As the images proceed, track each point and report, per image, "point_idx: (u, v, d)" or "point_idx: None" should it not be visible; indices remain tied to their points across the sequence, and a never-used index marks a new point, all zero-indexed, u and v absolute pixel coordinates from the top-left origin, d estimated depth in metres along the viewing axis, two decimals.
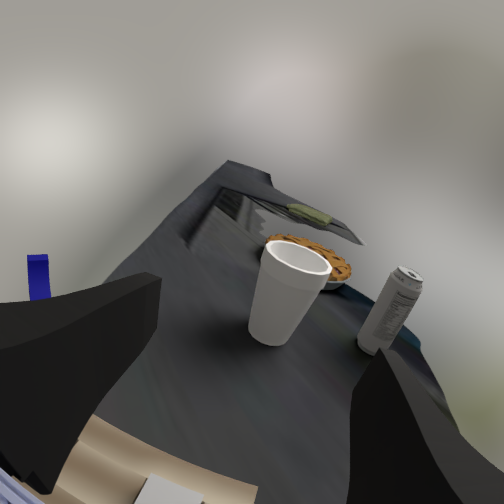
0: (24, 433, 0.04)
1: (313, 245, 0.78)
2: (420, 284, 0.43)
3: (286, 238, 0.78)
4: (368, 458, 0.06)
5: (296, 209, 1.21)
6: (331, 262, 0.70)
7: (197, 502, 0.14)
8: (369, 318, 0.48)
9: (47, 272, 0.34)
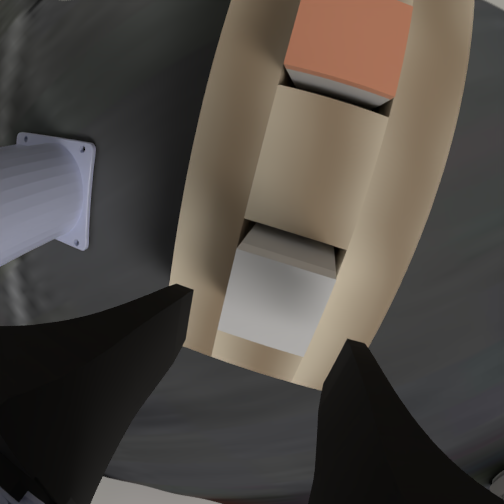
0: (65, 463, 0.04)
1: None
2: None
3: None
4: (330, 451, 0.07)
5: None
6: None
7: (286, 348, 0.12)
8: None
9: None
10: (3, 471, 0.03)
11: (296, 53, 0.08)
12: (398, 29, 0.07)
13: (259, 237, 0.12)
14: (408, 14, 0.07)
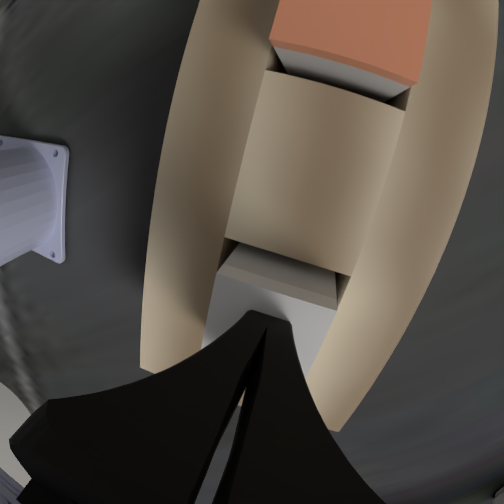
0: None
1: None
2: None
3: None
4: (239, 429, 0.07)
5: None
6: None
7: None
8: None
9: None
10: None
11: (286, 25, 0.06)
12: None
13: (246, 256, 0.11)
14: None
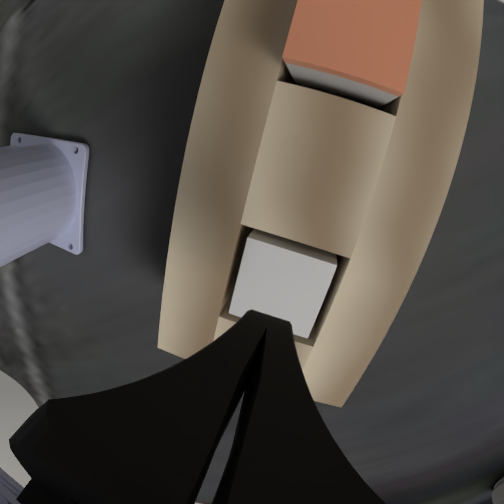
0: None
1: None
2: None
3: None
4: (239, 428, 0.07)
5: None
6: None
7: (292, 329, 0.13)
8: None
9: None
10: None
11: (296, 45, 0.07)
12: (406, 21, 0.06)
13: None
14: (417, 5, 0.06)
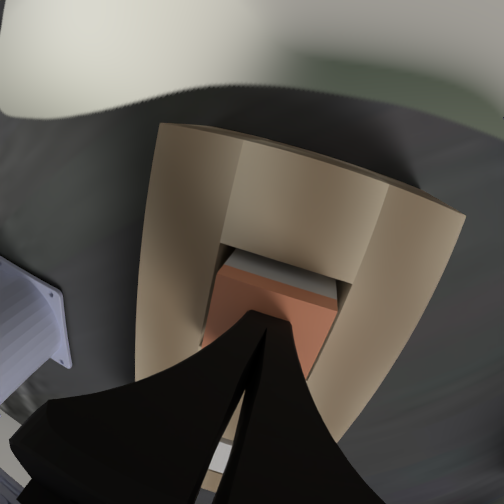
0: None
1: None
2: None
3: None
4: (239, 429, 0.07)
5: None
6: None
7: None
8: None
9: None
10: None
11: None
12: (312, 340, 0.09)
13: None
14: (329, 321, 0.09)
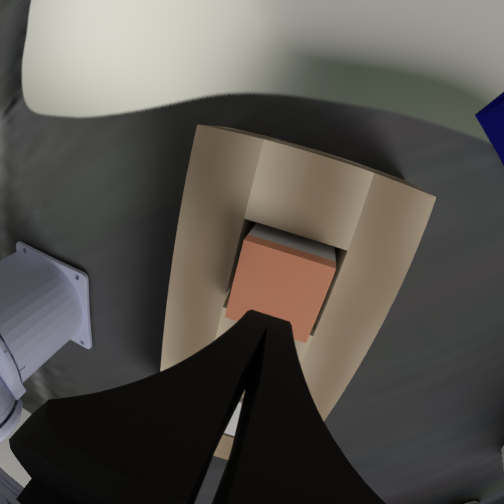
0: None
1: None
2: None
3: None
4: (239, 429, 0.07)
5: None
6: None
7: None
8: None
9: None
10: None
11: (233, 311, 0.13)
12: (317, 293, 0.12)
13: None
14: (329, 277, 0.12)
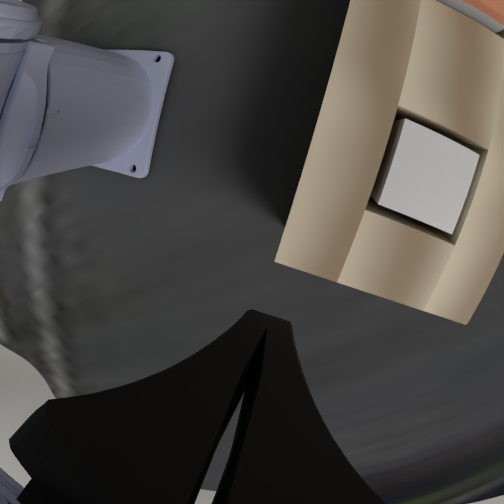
0: None
1: None
2: None
3: None
4: (239, 429, 0.07)
5: None
6: None
7: (439, 223, 0.11)
8: None
9: None
10: None
11: None
12: None
13: None
14: None
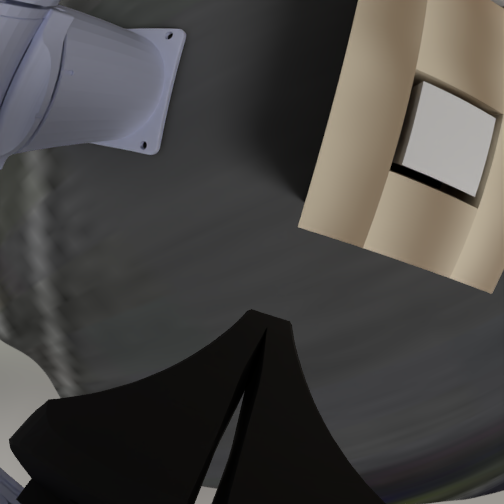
0: None
1: None
2: None
3: None
4: (239, 429, 0.07)
5: None
6: None
7: (462, 185, 0.10)
8: None
9: None
10: None
11: None
12: None
13: None
14: None
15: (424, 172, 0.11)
